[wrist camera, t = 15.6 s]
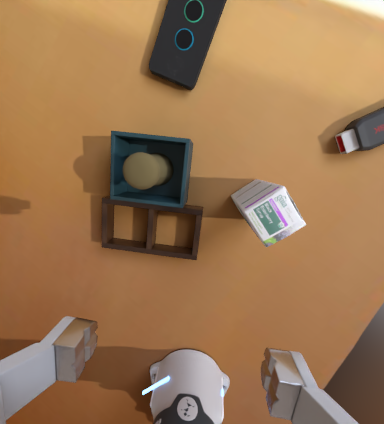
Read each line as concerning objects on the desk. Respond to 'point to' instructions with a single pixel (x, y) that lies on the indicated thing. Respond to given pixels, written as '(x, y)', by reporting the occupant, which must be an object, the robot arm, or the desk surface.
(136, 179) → the olive pepper mill
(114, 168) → the bin
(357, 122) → the usb drive
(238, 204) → the syrup box
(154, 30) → the desk surface
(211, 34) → the smart home device
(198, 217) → the holder
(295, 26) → the desk surface
